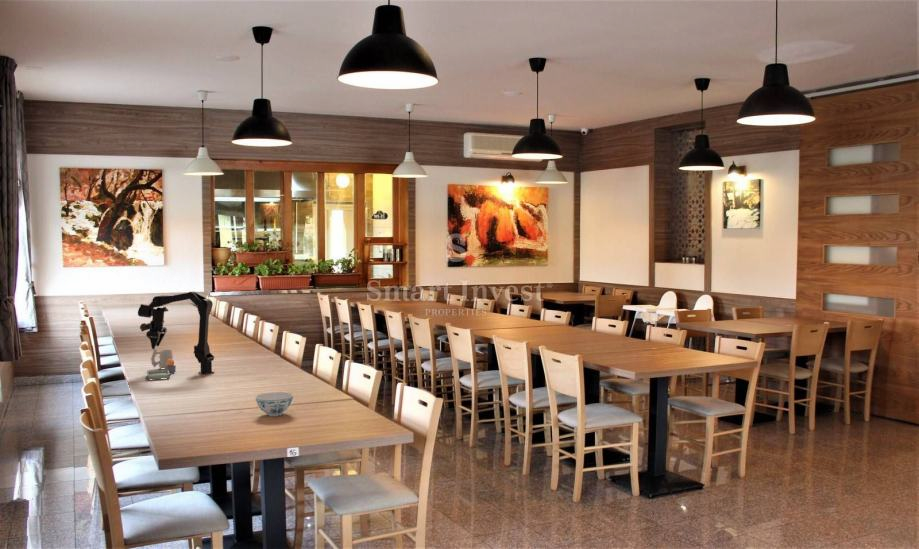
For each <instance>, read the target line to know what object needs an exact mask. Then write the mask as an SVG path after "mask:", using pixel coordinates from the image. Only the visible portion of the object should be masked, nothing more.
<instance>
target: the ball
mask: <svg viewBox="0 0 919 549" xmlns="http://www.w3.org/2000/svg"><path fill="white" fill-rule="evenodd" d="M166 364H167V365H168V366H173V365H175V360H174V359H173V360H172V359H168V360H167V362H166Z"/></svg>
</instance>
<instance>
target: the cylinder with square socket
mask: <svg viewBox="0 0 919 549" xmlns="http://www.w3.org/2000/svg"><path fill="white" fill-rule="evenodd" d="M164 370H169V373H172V374H174V373H173V372H176V371H177V369H176V365H175V364H174V365H173V366H168V365H167V366H165V369H164ZM176 373H177V372H176Z"/></svg>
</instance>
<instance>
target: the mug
mask: <svg viewBox="0 0 919 549" xmlns="http://www.w3.org/2000/svg"><path fill="white" fill-rule="evenodd" d="M157 355H159V356H158V358H159V360H157V361H156V360H155V357H156V356H157ZM173 358H174V355H173V349H162V350H160V351H158V349H157V348H156V347H155V348H154V349H153V352H152V354H151V358H150V360H151V362H150V363H151V366H153V368H155V367H157V366H159V369H160V368H165V366H167V364H166V362H167V360H168V359H172V360H174V359H173Z"/></svg>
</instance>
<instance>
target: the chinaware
mask: <svg viewBox="0 0 919 549" xmlns="http://www.w3.org/2000/svg"><path fill="white" fill-rule="evenodd" d="M293 398H294V394H293V393H291V392H286V391H285V392H283V391H276V392H274V391H272V392H271V391H270V392H265V393H260V394H257V395H255V401H256V404H257V406H258V407H259V409H260V410H261V411H262V412H264V413H265V415H266V416H267V415H269V416H268V417H278V415H280V416H282V414H283V415H284V412H286V411H287V410H288V409H289V407H290V406H291V404H292V402H293Z"/></svg>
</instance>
